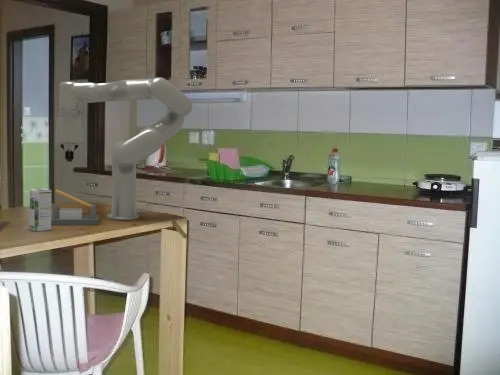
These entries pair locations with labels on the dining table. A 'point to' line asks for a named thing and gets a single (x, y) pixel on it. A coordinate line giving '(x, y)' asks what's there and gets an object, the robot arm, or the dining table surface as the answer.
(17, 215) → the dining table surface
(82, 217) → the base
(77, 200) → the yellow long flat bar
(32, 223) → the syrup box
